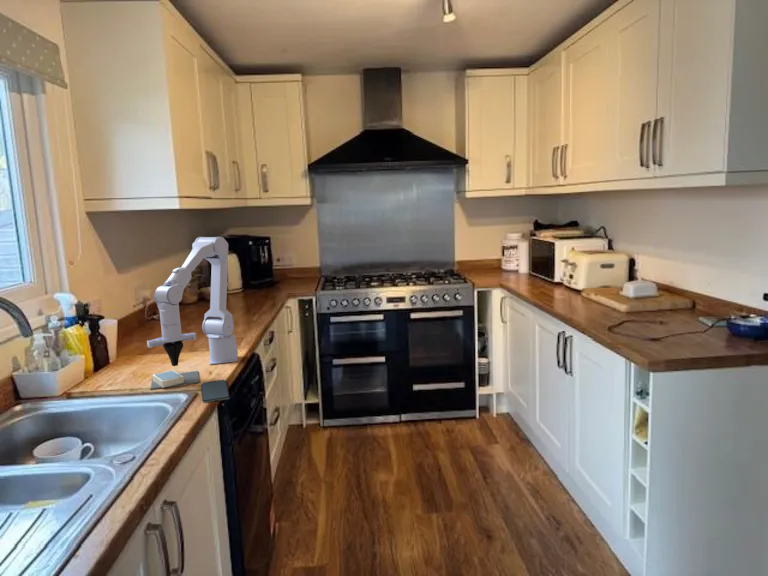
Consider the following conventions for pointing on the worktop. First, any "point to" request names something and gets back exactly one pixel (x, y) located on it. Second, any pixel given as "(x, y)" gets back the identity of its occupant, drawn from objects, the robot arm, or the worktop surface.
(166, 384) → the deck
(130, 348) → the worktop surface
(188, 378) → the mat
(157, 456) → the worktop surface
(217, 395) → the smartphone
